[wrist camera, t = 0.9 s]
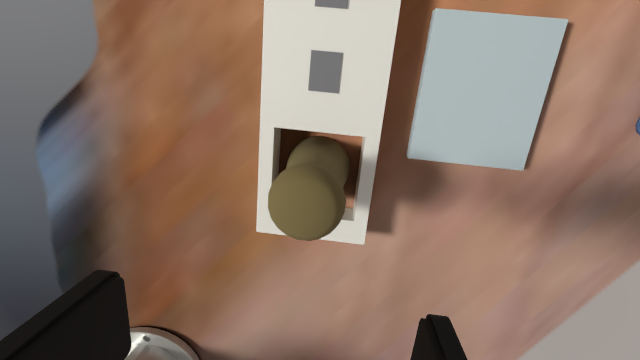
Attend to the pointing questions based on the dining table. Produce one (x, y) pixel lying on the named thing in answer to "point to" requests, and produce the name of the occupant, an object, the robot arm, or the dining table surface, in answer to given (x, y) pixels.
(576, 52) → the dining table surface
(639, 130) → the grapes
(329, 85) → the white board with cutout
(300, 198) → the olive rounded piece
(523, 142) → the rubber mat
